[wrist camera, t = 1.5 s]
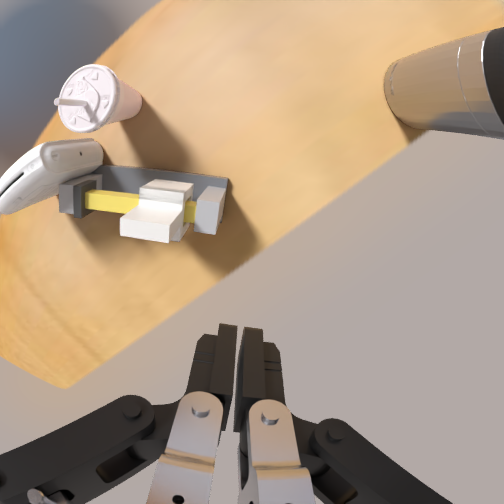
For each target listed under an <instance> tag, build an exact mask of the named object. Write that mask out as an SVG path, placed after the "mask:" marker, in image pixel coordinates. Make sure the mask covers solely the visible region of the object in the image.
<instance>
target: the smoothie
mask: <svg viewBox="0 0 504 504" xmlns="http://www.w3.org/2000/svg"><path fill="white" fill-rule="evenodd" d="M54 104H55V105H58V109H59V115H60V118H61V120H62V122H63V124H64V125H65V126H66V127H67V128H68V129H70V130H71V131H74V132H78V133H90V132H93V131H96V130H98V129H100V128H101V127H103V126H104V125H107V124H110V123H114V122H118V121H122V120H126V119H130V118H132V117H134V116H135V115H137V113H138V112H139V111H140V109H141V106H142V97H141V95H140V93H139V92H138V91H136V90H135V89H133V88H132V87H130V86H129V85H128V84H126V83H125V82H123V81H122V80H120V79H119V78H117V75H116V74H115V73H114V72H113V71H112V70H111V69H109V68H108V67H106V66H101V65H96V64H92V65H86V66H84V67H81V68H80V69H78V70H76V71H75V72H74V73H73V74H72V75H71V76H70V77H69V78H68V79H67V81H66V82H65V84H64V86H63V88H62V90H61V93H60V96H59V98H56V99H55V101H54Z"/></svg>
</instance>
